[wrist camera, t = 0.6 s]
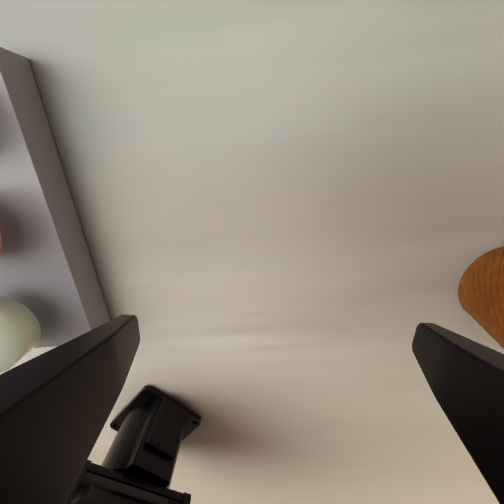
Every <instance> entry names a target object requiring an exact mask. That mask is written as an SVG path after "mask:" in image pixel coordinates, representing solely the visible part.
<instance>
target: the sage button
mask: <svg viewBox="0 0 504 504" xmlns="http://www.w3.org/2000/svg"><path fill="white" fill-rule="evenodd" d="M40 338H41V327H40V324H39V322H38V320H37V318H36V317H35V315H34V314H33V313H32V312H31V311H30V310H29V309H28V308H27V307H25V306H24V305H22V304H21V303H19V302H17V301H15V300H12V299H9V298H5V297H0V372H3V371H6V370H8V369H10V368H11V367H12V366H13V365H14V364H15V363H16V362H18V361H19V360H20V359H21V358H22V357H23V356H24V355H26V354H27V353H28V352H29V351H30V350H31V349H32V348H33V347H35V346H36V345H37V344H38V342H39V340H40Z"/></svg>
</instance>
